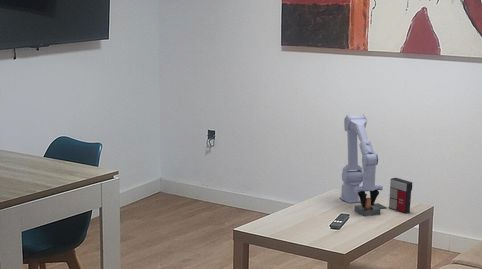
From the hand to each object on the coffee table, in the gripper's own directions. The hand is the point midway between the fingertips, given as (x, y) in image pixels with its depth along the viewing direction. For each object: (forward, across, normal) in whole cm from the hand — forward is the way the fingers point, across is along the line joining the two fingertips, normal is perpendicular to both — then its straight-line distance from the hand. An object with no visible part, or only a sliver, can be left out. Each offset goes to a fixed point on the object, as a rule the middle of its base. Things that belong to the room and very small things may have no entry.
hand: (367, 205), depth 371 cm
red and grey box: (+4, +17, -2) cm, 17 cm away
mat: (+3, +9, +7) cm, 12 cm away
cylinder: (+3, 0, 0) cm, 3 cm away
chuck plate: (+3, 0, 0) cm, 3 cm away
